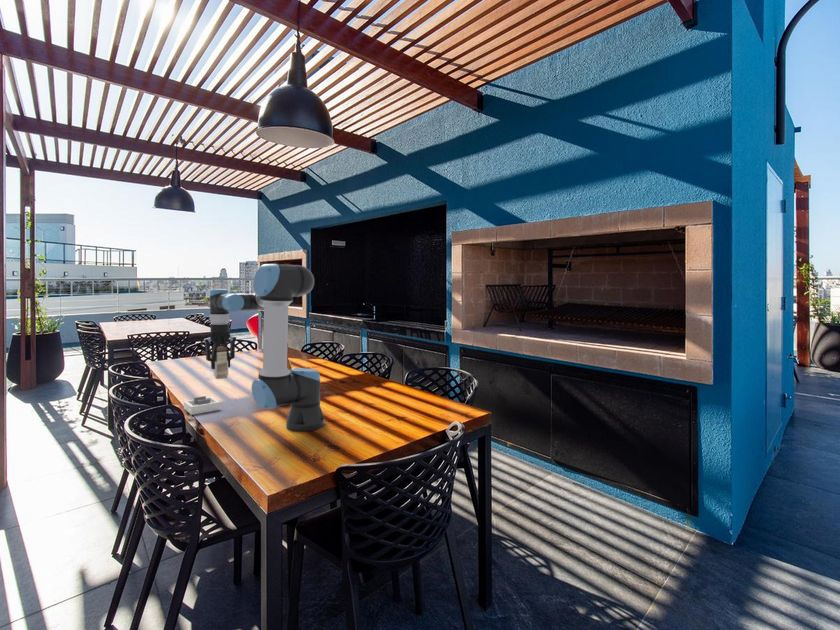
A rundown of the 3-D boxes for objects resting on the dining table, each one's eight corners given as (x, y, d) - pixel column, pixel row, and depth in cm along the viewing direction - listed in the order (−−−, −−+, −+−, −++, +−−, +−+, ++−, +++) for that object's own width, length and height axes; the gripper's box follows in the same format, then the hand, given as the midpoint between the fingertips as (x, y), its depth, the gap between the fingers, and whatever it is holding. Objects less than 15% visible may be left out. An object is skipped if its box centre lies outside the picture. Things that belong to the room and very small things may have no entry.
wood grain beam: (227, 378, 191) (226, 347, 190) (217, 379, 189) (216, 347, 188) (224, 376, 194) (223, 346, 193) (214, 377, 192) (214, 346, 191)
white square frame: (220, 409, 194) (220, 398, 194) (191, 414, 186) (190, 403, 186) (211, 404, 203) (211, 393, 202) (184, 408, 195) (183, 398, 194)
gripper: (236, 322, 198) (237, 371, 200) (196, 324, 187) (197, 376, 188) (242, 323, 193) (243, 374, 194) (201, 325, 181) (203, 379, 183)
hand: (221, 375), depth 191 cm, fingers closed on wood grain beam, 4 cm apart
